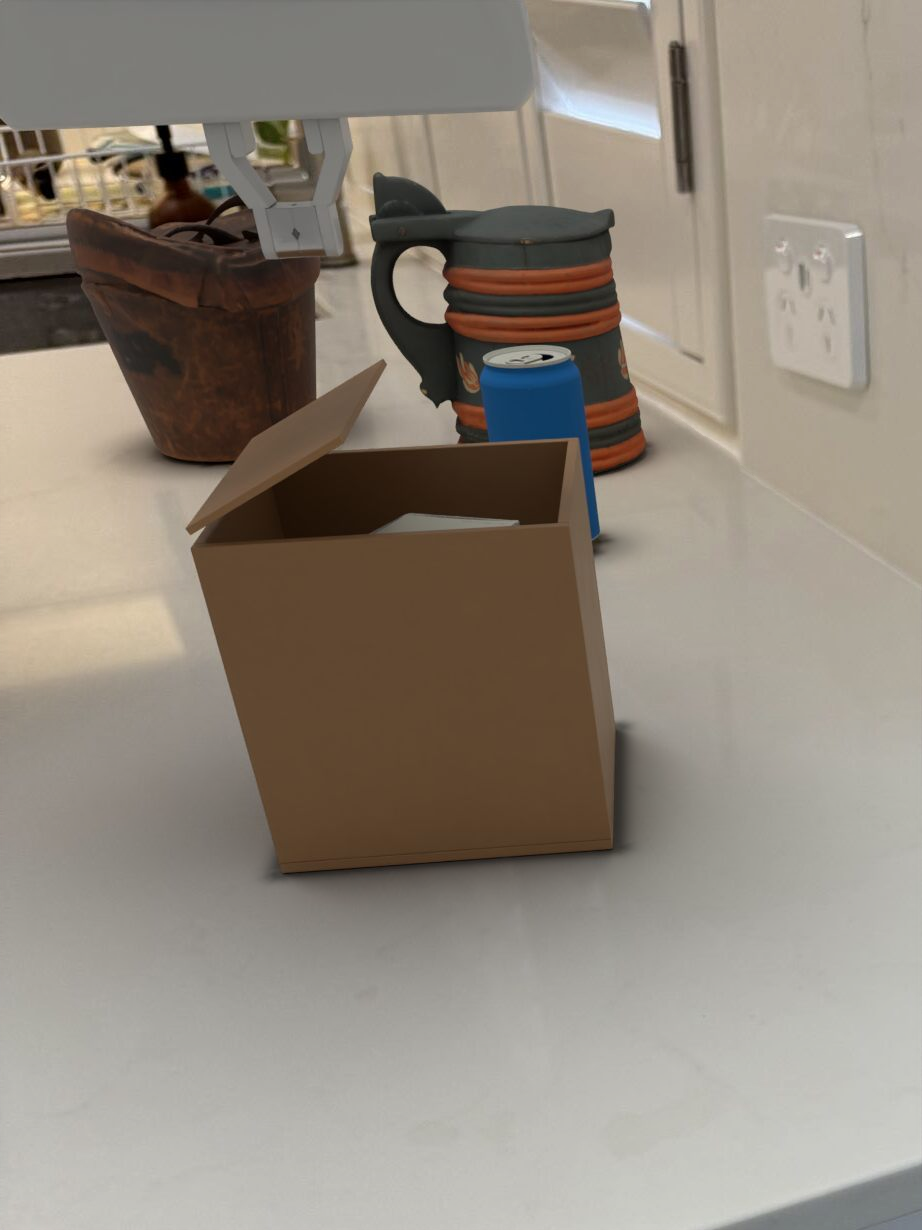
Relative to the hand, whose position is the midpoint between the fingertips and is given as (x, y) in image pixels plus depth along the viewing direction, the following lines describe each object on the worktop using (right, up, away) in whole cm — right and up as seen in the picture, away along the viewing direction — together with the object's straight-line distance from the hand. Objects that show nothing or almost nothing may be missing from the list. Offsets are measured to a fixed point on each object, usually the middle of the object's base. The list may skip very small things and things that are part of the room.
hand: (305, 256), depth 63 cm
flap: (-2, -6, +4) cm, 7 cm away
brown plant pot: (-30, +24, +69) cm, 79 cm away
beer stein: (-5, +20, +63) cm, 66 cm away
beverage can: (+1, +6, +45) cm, 46 cm away
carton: (+2, -18, +15) cm, 24 cm away
